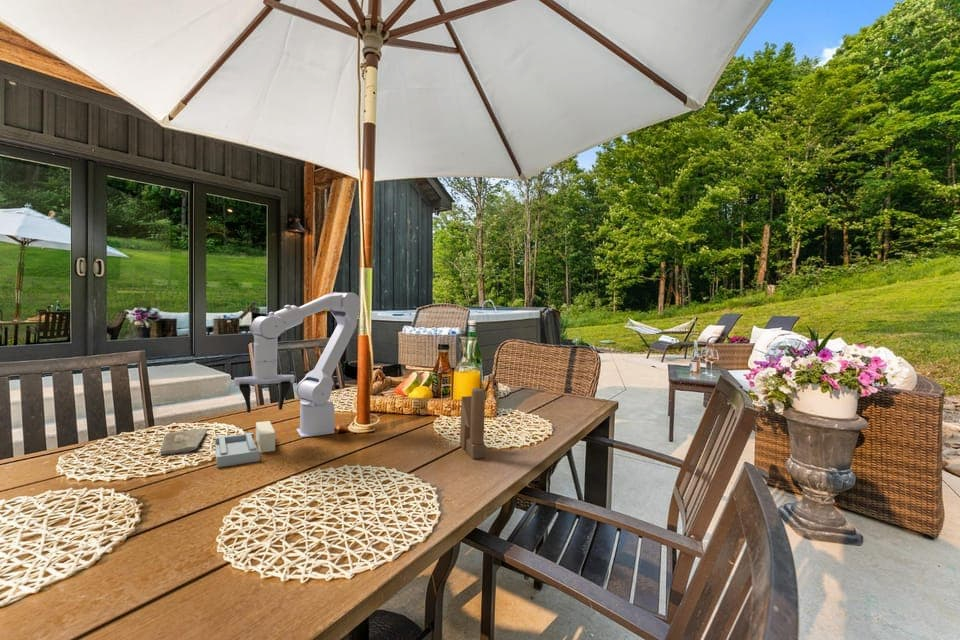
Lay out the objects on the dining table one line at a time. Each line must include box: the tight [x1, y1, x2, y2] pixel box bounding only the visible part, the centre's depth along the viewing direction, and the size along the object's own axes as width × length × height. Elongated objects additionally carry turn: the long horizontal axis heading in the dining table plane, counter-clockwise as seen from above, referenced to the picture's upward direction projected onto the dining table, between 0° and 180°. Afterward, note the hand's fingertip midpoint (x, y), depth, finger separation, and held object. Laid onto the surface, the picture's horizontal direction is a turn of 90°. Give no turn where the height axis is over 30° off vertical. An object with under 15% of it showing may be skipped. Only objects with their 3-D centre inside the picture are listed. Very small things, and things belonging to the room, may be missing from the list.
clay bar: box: [255, 420, 276, 454], centre depth 117 cm, size 12×4×5 cm, turn 33°
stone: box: [159, 428, 208, 455], centre depth 116 cm, size 18×3×10 cm
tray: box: [214, 432, 261, 468], centre depth 110 cm, size 9×16×3 cm, turn 33°
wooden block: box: [459, 387, 487, 460], centre depth 117 cm, size 4×11×18 cm, turn 21°
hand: (264, 410), depth 117 cm, fingers open, 7 cm apart
